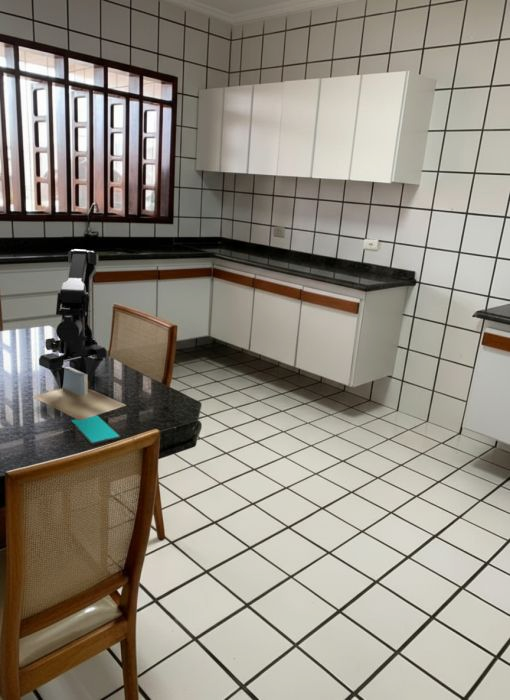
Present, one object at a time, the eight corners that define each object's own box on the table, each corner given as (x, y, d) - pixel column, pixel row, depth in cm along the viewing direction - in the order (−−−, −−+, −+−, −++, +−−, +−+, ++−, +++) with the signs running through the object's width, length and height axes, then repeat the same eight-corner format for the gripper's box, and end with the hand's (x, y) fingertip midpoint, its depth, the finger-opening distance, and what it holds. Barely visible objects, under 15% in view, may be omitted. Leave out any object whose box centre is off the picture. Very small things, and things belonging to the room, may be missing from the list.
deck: (69, 385, 158) (68, 366, 156) (87, 394, 153) (87, 374, 151) (62, 387, 156) (61, 368, 154) (81, 396, 151) (80, 376, 149)
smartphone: (97, 414, 140) (121, 436, 129) (97, 417, 140) (121, 439, 129) (69, 419, 136) (91, 443, 124) (69, 422, 136) (91, 446, 125)
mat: (78, 385, 160) (78, 384, 160) (126, 406, 147) (126, 405, 147) (31, 397, 148) (31, 396, 148) (79, 422, 136) (79, 420, 136)
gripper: (84, 322, 161) (85, 371, 166) (26, 331, 147) (29, 384, 151) (108, 329, 155) (108, 380, 159) (49, 340, 141) (51, 395, 145)
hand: (74, 384), depth 154 cm, fingers open, 9 cm apart
